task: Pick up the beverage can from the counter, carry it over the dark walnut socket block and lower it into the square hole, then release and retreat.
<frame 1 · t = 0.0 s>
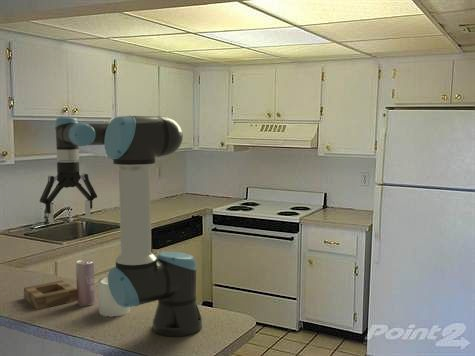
hand: (70, 220, 185), 28 cm above the worktop, fingers open, 13 cm apart
beverage can: (86, 304, 180), on the worktop
mug: (115, 310, 174), on the worktop
socket block: (50, 299, 184), on the worktop
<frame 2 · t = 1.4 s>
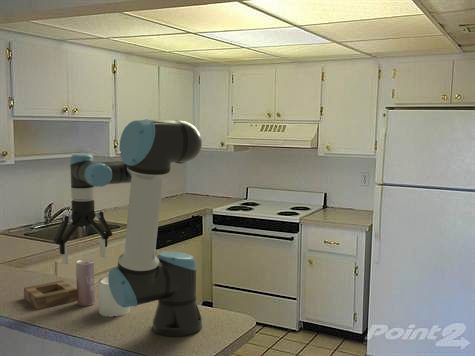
hand: (84, 260, 178), 16 cm above the worktop, fingers open, 13 cm apart
nothing on the worktop moved.
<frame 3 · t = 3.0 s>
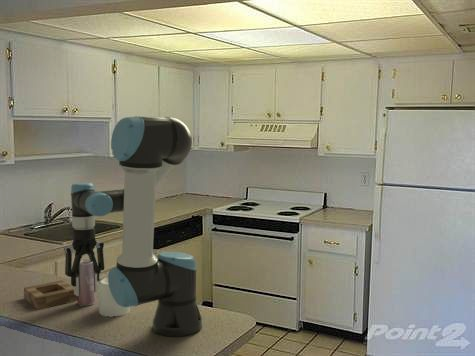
hand: (85, 292, 179), 4 cm above the worktop, fingers closed on beverage can, 6 cm apart
beverage can: (86, 304, 180), on the worktop, touching gripper
everything else where it was.
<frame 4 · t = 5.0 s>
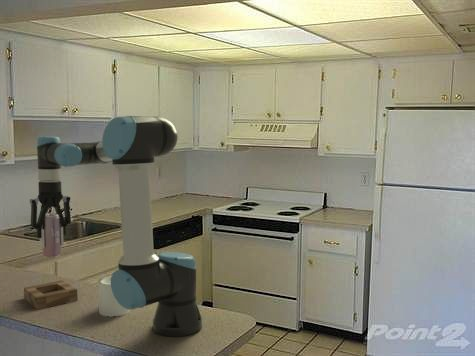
hand: (51, 245, 182), 20 cm above the worktop, fingers closed on beverage can, 6 cm apart
beverage can: (52, 256, 182), point 16 cm above the worktop, touching gripper
everything else where it was.
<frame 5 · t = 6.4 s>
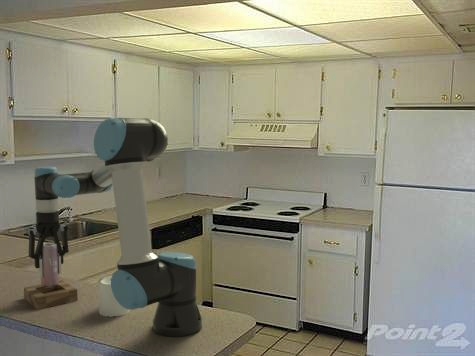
hand: (49, 274, 183), 9 cm above the worktop, fingers closed on beverage can, 6 cm apart
beverage can: (50, 285, 183), point 5 cm above the worktop, touching gripper
everything else where it was.
when the fingers open (6 cm above the worktop, at t = 7.2 s): beverage can drops 2 cm, resting in socket block.
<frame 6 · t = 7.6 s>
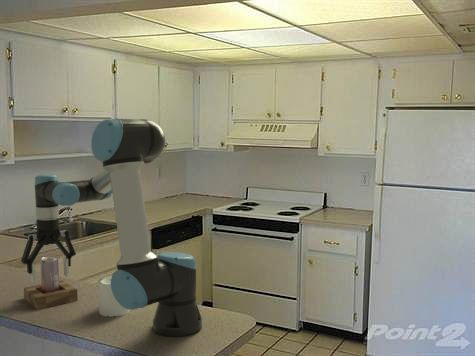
hand: (50, 278, 183), 8 cm above the worktop, fingers open, 11 cm apart
beverage can: (50, 300, 184), resting in socket block
everything else where it was.
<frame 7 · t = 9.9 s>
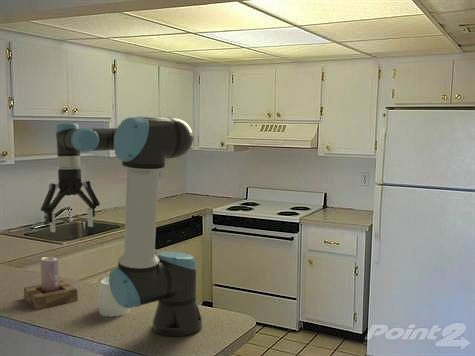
hand: (72, 229, 179), 26 cm above the worktop, fingers open, 13 cm apart
nothing on the worktop moved.
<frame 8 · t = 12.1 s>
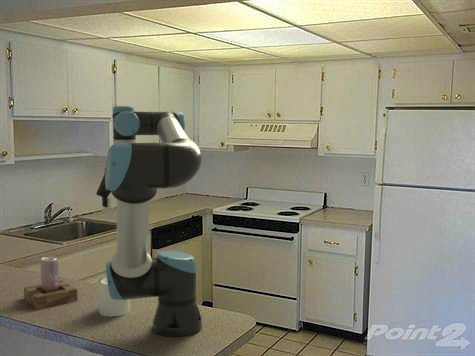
hand: (126, 214, 176), 32 cm above the worktop, fingers open, 13 cm apart
nothing on the worktop moved.
at the end: beverage can 0.0 cm off-centre on the socket block, point 0.0 cm above the socket block's base; beverage can tilted 0°; the gripper is holding nothing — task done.
